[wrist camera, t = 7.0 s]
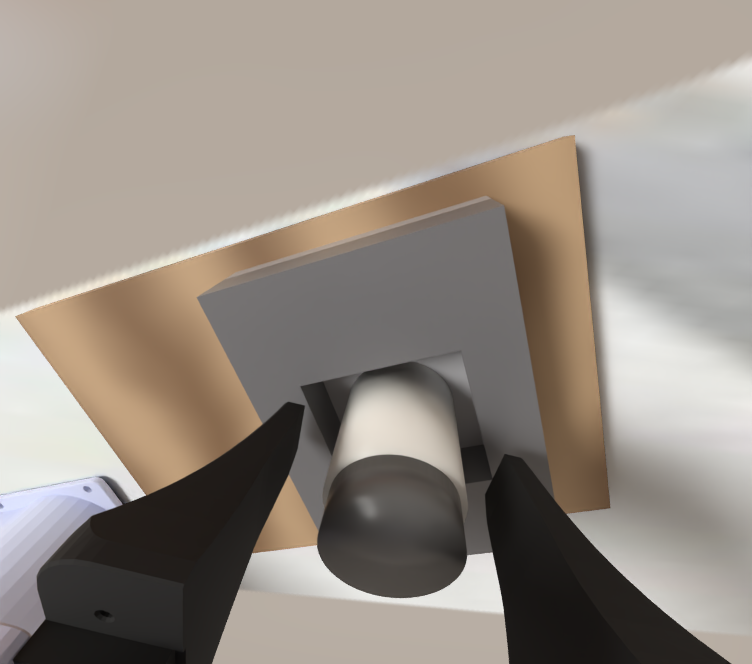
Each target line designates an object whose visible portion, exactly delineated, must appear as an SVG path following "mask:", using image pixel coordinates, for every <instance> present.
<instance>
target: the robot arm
mask: <svg viewBox="0 0 752 664" xmlns="http://www.w3.org/2000/svg"><path fill="white" fill-rule="evenodd" d="M304 409H305V405H301V404H297V403H293V402H286V403H285V404H284V405H283V406H282V407H281V408H280V409H279V410H278V411H277V412H275V413H274V414H273V415H272V416H271V417H270V418H269V419H268V420H267V421H266V422H264V423H263V424H262V425H261V426H260V427H258V428H257V429H256V430H255V431H254V432H252V433H251V434H250V435H249V436H247V437H246V438H245V439H244V440H242V441H241V442H239V443H238V444H237V445H235V446H234V447H233V448H231V449H230V450H229V451H227V452H226V453H224V454H223V455H221V456H220V457H218V458H217V459H215V460H213V461H212V462H210V463H209V464H207V465H205V466H204V467H202V468H200V469H198V470H197V471H195V472H193V473H191V474H189V475H188V476H186V477H184V478H182V479H180V480H178V481H176V482H174V483H172V484H170V485H168V486H166V487H164V488H161V489H159V490H157V491H155V492H153V493H150V494H148V495H146V496H144V497H141V498H139V499H136V500H134V501H131V502H129V503H126V504H122V503H121V501H120V500H119V499H118V497H117V496H116V495H115V493H114V492H113V491H112V490H111V488H110V487H109V486H108V484H107V483H106V482H105V481H104V480H103V479H101V478H98V477H93V478H88V479H83V480H77V481H72V482H67V483H62V484H57V485H51V486H46V487H41V488H36V489H31V490H26V491H20V492H15V493H10V494H5V495H0V664H212V662H213V659H214V656H215V653H216V650H217V647H218V645H219V642H220V639H221V636H222V633H223V631H224V627H225V625H226V622H227V619H228V617H229V614H230V611H231V608H232V606H233V603H234V600H235V597H236V595H237V592H238V589H239V587H240V584H241V581H242V579H243V576H244V573H245V571H246V568H247V565H248V563H249V560H250V557H251V555H252V552H253V550H254V547H255V545H256V542H257V540H258V538H259V536H260V533H261V531H262V529H263V527H264V525H265V523H266V521H267V519H268V517H269V515H270V513H271V511H272V509H273V507H274V504H275V502H276V500H277V498H278V496H279V494H280V492H281V490H282V488H283V486H284V484H285V482H286V480H287V477H288V475H289V472H290V470H291V467H292V464H293V461H294V458H295V456H296V453H297V450H298V444H299V439H300V433H301V427H302V421H303V415H304ZM485 505H486V518H487V526H488V532H489V537H490V542H491V547H492V551H493V556H494V561H495V566H496V570H497V575H498V580H499V585H500V590H501V595H502V601H503V607H504V616H505V625H506V633H507V643H508V654H509V664H731V663H729V662H728V661H727V660H725V659H724V658H723V657H721V656H720V655H719V654H717V653H716V652H715V651H713V650H712V649H711V648H709V647H708V646H707V645H705V644H704V643H702V642H701V641H700V640H698V639H697V638H696V637H694V636H693V635H692V634H691V633H689V632H688V631H687V630H686V629H684V628H683V627H682V626H681V625H679V624H678V623H677V622H676V621H674V620H673V619H672V618H671V617H670V616H668V615H667V614H666V613H665V612H663V611H662V610H661V609H660V608H659V607H658V606H656V605H655V604H654V603H653V602H652V601H651V600H649V599H648V598H647V597H646V596H645V595H644V594H643V593H642V592H641V591H639V590H638V589H637V588H636V587H635V586H634V585H633V584H632V583H631V582H630V581H628V580H627V579H626V578H625V577H624V576H623V575H622V574H621V573H620V572H619V571H618V570H617V569H616V568H615V567H614V566H613V565H612V564H611V563H610V562H609V561H608V560H607V559H606V558H605V557H604V556H603V555H602V554H601V553H600V552H599V551H598V550H597V549H596V548H595V547H594V546H593V544H592V543H591V542H590V541H589V540H588V539H587V538H586V537H585V536H584V534H583V533H582V532H581V531H580V530H579V529H578V528H577V526H576V525H575V524H574V523H573V522H572V521H571V519H570V518H569V517H568V516H567V515H566V513H565V512H564V511H563V510H562V509H561V507H560V506H559V505H558V504H557V502H556V501H555V500H554V499H553V497H552V496H551V495H550V493H549V492H548V491H547V490H546V488H545V487H544V486H543V484H542V483H541V482H540V480H539V479H538V478H537V477H536V475H535V474H534V473H533V471H532V470H531V469H530V467H529V466H528V465H527V464H526V462H525V461H524V460H523V459H522V458H520V457H516V456H512V455H508V454H504V456H503V458H502V460H501V462H500V464H499V467H498V469H497V471H496V473H495V475H494V477H493V479H492V481H491V483H490V485H489V487H488V489H487V491H486V493H485Z"/></svg>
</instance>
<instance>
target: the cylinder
mask: <svg viewBox="0 0 752 664" xmlns="http://www.w3.org/2000/svg"><path fill="white" fill-rule="evenodd" d="M322 499H323V505H324V513H323V517H322V520H321V524H320V528H319V532H318V537H317V548H318V552H319V555H320V557H321V559H322V561H323V563H324V564H325V566H326V567H327V568H328V569H329V570H330V571H331V572H332V573H333V574H334V575H335V576H336V577H337V578H339V579H340V580H342V581H343V582H345V583H346V584H348V585H350V586H352V587H354V588H356V589H358V590H361V591H364V592H366V593H370V594H373V595H378V596H383V597H391V598H412V597H419V596H424V595H428V594H431V593H434V592H437V591H439V590H441V589H443V588H445V587H447V586H448V585H450V584H451V583H452V582H454V581H455V580H456V579H457V578H458V577H459V575H460V574H461V572H462V571H463V569H464V567H465V564H466V560H467V547H466V539H465V531H464V522H465V519H466V516H467V511H468V499H467V493H466V486H465V479H464V472H463V465H462V458H461V451H460V444H459V437H458V430H457V423H456V416H455V409H454V402H453V397H452V393H451V391H450V389H449V387H448V385H447V383H446V382H445V381H444V379H443V378H442V377H441V376H440V375H439V374H437V373H436V372H435V371H433V370H432V369H430V368H428V367H426V366H424V365H422V364H419V363H416V362H406V363H402V364H397V365H393V366H388V367H384V368H379V369H375V370H370V371H366V372H363V373H362V374H361V375H360V376H359V377H358V378H357V379H356V381H355V382H354V384H353V386H352V388H351V391H350V394H349V398H348V402H347V405H346V409H345V412H344V416H343V419H342V423H341V426H340V430H339V434H338V437H337V441H336V444H335V448H334V451H333V455H332V458H331V462H330V465H329V469H328V473H327V476H326V480H325V483H324V487H323V493H322Z"/></svg>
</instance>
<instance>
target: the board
mask: <svg viewBox="0 0 752 664" xmlns="http://www.w3.org/2000/svg"><path fill="white" fill-rule="evenodd" d="M483 196H488V197H489V198H491V199H493V200H495V201H497V202H499V203H500V204H502V205H504V208H505V213H506V219H507V225H508V231H509V237H510V243H511V248H512V254H513V260H514V266H515V272H516V277H517V283H518V289H519V295H520V301H521V306H522V312H523V318H524V324H525V330H526V336H527V341H528V347H529V353H530V359H531V365H532V370H533V376H534V382H535V388H536V394H537V400H538V405H539V411H540V417H541V423H542V429H543V434H544V440H545V446H546V452H547V458H548V463H549V469H550V475H551V481H552V487H553V493H554V498H555V501H556V502H557V504H558V505H559V506H560V507H561V509H562V510H563V511H564V512H565V513H566V514H568V513H575V512H583V511H591V510H599V509H607V508H610V499H609V489H608V478H607V468H606V458H605V447H604V437H603V426H602V416H601V406H600V395H599V385H598V374H597V364H596V354H595V343H594V333H593V322H592V312H591V302H590V291H589V281H588V270H587V260H586V250H585V239H584V229H583V218H582V208H581V198H580V187H579V177H578V166H577V156H576V146H575V135H572V136H566V137H561V138H558V139H555V140H552V141H549V142H546V143H543V144H540V145H537V146H534V147H531V148H528V149H524V150H521V151H518V152H515V153H512V154H509V155H506V156H503V157H500V158H497V159H494V160H491V161H488V162H484V163H481V164H478V165H475V166H472V167H469V168H466V169H463V170H460V171H457V172H454V173H451V174H448V175H444V176H441V177H438V178H435V179H432V180H429V181H426V182H423V183H420V184H417V185H414V186H411V187H408V188H404V189H401V190H398V191H395V192H392V193H389V194H386V195H383V196H380V197H377V198H374V199H371V200H368V201H364V202H361V203H358V204H355V205H352V206H349V207H346V208H343V209H340V210H337V211H334V212H331V213H328V214H324V215H321V216H318V217H315V218H312V219H309V220H306V221H303V222H300V223H297V224H294V225H291V226H288V227H284V228H281V229H278V230H275V231H272V232H269V233H266V234H263V235H260V236H257V237H254V238H251V239H248V240H244V241H241V242H238V243H235V244H232V245H229V246H226V247H223V248H220V249H217V250H214V251H211V252H208V253H204V254H201V255H198V256H195V257H192V258H189V259H186V260H183V261H180V262H177V263H174V264H171V265H168V266H164V267H161V268H158V269H155V270H152V271H149V272H146V273H143V274H140V275H137V276H134V277H131V278H128V279H124V280H121V281H118V282H115V283H112V284H109V285H106V286H103V287H100V288H97V289H94V290H91V291H88V292H85V293H81V294H78V295H75V296H72V297H69V298H66V299H63V300H60V301H57V302H54V303H51V304H48V305H45V306H41V307H38V308H35V309H33V310H30V311H28V312H25V313H23V314H20V315H18V316H15V317H16V318H17V320H18V321H19V322H20V324H21V325H22V326H23V328H24V329H25V331H26V332H27V333H28V335H29V336H30V337H31V339H32V340H33V341H34V343H35V344H36V346H37V347H38V348H39V350H40V351H41V352H42V354H43V355H44V356H45V358H46V359H47V361H48V362H49V363H50V365H51V366H52V367H53V369H54V370H55V371H56V373H57V374H58V376H59V377H60V378H61V380H62V381H63V382H64V384H65V385H66V386H67V388H68V389H69V391H70V392H71V393H72V395H73V396H74V397H75V399H76V400H77V401H78V403H79V404H80V406H81V407H82V408H83V410H84V411H85V412H86V414H87V415H88V417H89V418H90V419H91V421H92V422H93V423H94V425H95V426H96V427H97V429H98V430H99V432H100V433H101V434H102V436H103V437H104V438H105V440H106V441H107V442H108V444H109V445H110V447H111V448H112V449H113V451H114V452H115V453H116V455H117V456H118V457H119V459H120V460H121V462H122V463H123V464H124V466H125V467H126V468H127V470H128V471H129V472H130V474H131V475H132V477H133V478H134V479H135V481H136V482H137V483H138V485H139V486H140V487H141V489H142V490H143V492H144V493H145V494H146V495H148V494H150V493H153V492H155V491H157V490H159V489H161V488H164V487H166V486H168V485H170V484H172V483H174V482H176V481H178V480H180V479H182V478H184V477H186V476H188V475H189V474H191V473H193V472H195V471H197V470H198V469H200V468H202V467H204V466H205V465H207V464H209V463H210V462H212V461H213V460H215V459H217V458H218V457H220V456H221V455H223V454H224V453H226V452H227V451H229V450H230V449H231V448H233V447H234V446H235V445H237V444H238V443H239V442H241V441H242V440H244V439H245V438H246V437H247V436H249V435H250V434H251V433H252V432H254V431H255V430H256V429H257V428H258V427H260V426H261V425H262V422H261V420H260V418H259V416H258V414H257V412H256V411H255V409H254V407H253V405H252V403H251V401H250V399H249V397H248V395H247V393H246V391H245V389H244V388H243V386H242V384H241V382H240V380H239V378H238V376H237V374H236V372H235V370H234V368H233V366H232V365H231V363H230V361H229V359H228V357H227V355H226V353H225V351H224V349H223V347H222V345H221V343H220V342H219V340H218V338H217V336H216V334H215V332H214V330H213V328H212V326H211V324H210V322H209V320H208V319H207V317H206V315H205V313H204V311H203V309H202V307H201V305H200V303H199V301H198V299H197V297H198V296H199V295H201V294H202V293H204V292H205V291H207V290H209V289H210V288H212V287H213V286H215V285H217V284H218V283H220V282H221V281H223V280H224V279H226V278H228V277H229V276H231V275H232V274H234V273H235V272H239V271H242V270H245V269H248V268H252V267H255V266H258V265H261V264H265V263H268V262H271V261H275V260H278V259H281V258H284V257H288V256H291V255H294V254H297V253H301V252H304V251H307V250H310V249H314V248H317V247H320V246H323V245H327V244H330V243H333V242H337V241H340V240H343V239H346V238H350V237H353V236H356V235H359V234H363V233H366V232H369V231H372V230H376V229H379V228H382V227H385V226H389V225H392V224H395V223H399V222H402V221H405V220H408V219H412V218H415V217H418V216H421V215H425V214H428V213H431V212H434V211H438V210H441V209H444V208H447V207H451V206H454V205H457V204H461V203H464V202H467V201H470V200H474V199H477V198H480V197H483ZM318 532H319V531H318V529H317V527H316V526H315V524H314V522H313V520H312V518H311V516H310V514H309V512H308V510H307V508H306V506H305V504H304V503H303V501H302V499H301V497H300V495H299V493H298V491H297V489H296V487H295V485H294V483H293V481H292V480H291V478H290V476H289V475H288V477H287V480H286V482H285V484H284V486H283V488H282V490H281V492H280V494H279V496H278V498H277V500H276V502H275V504H274V507H273V509H272V511H271V513H270V515H269V517H268V519H267V521H266V523H265V525H264V527H263V529H262V531H261V533H260V536H259V538H258V540H257V542H256V545H255V547H254V550H253V552H252V553H258V552H266V551H274V550H282V549H290V548H298V547H306V546H314V545H317V537H318Z"/></svg>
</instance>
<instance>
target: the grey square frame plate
mask: <svg viewBox="0 0 752 664" xmlns="http://www.w3.org/2000/svg"><path fill="white" fill-rule="evenodd" d="M197 299H198V301H199V303H200V305H201V307H202V309H203V311H204V313H205V315H206V317H207V319H208V320H209V322H210V324H211V326H212V328H213V330H214V332H215V334H216V336H217V338H218V340H219V342H220V343H221V345H222V347H223V349H224V351H225V353H226V355H227V357H228V359H229V361H230V363H231V365H232V366H233V368H234V370H235V372H236V374H237V376H238V378H239V380H240V382H241V384H242V386H243V388H244V389H245V391H246V393H247V395H248V397H249V399H250V401H251V403H252V405H253V407H254V409H255V411H256V412H257V414H258V416H259V418H260V420H261V422H262V424H263V423H264V422H266V421H267V420H268V419H269V418H270V417H271V416H272V415H273V414H274V413H275V412H277V411H278V410H279V409H280V408H281V407H282V406H283V405H284V404H285V403H286V402H293V403H297V404H301V405H305V409H304V415H303V421H302V427H301V433H300V439H299V444H298V450H297V453H296V456H295V458H294V461H293V464H292V467H291V470H290V472H289V476H290V478H291V480H292V481H293V483H294V485H295V487H296V489H297V491H298V493H299V495H300V497H301V499H302V501H303V503H304V504H305V506H306V508H307V510H308V512H309V514H310V516H311V518H312V520H313V522H314V524H315V526H316V527H317V529H318V531H319V528H320V524H321V520H322V517H323V513H324V505H323V499H322V493H323V487H324V483H325V480H326V476H327V473H328V469H329V465H330V462H331V458H332V455H333V451H334V448H335V444H336V441H337V437H338V434H339V430H340V426H341V423H342V419H343V416H344V412H345V409H346V405H347V402H348V398H349V394H350V391H351V388H352V386H353V384H354V382H355V381H356V379H357V378H358V377H359V376H360V375H361V374H362V373H363V372H366V371H370V370H375V369H379V368H384V367H388V366H393V365H397V364H402V363H406V362H416V363H419V364H422V365H424V366H426V367H428V368H430V369H432V370H433V371H435V372H436V373H437V374H439V375H440V376H441V377H442V378H443V379H444V381H445V382H446V383H447V385H448V387H449V389H450V391H451V393H452V397H453V402H454V409H455V416H456V423H457V430H458V437H459V444H460V451H461V458H462V465H463V472H464V479H465V486H466V493H467V499H468V511H467V516H466V519H465V522H464V531H465V539H466V547H467V555H473V554H482V553H491V552H493V551H492V547H491V542H490V537H489V532H488V526H487V518H486V505H485V493H486V491H487V489H488V487H489V485H490V483H491V481H492V479H493V477H494V475H495V473H496V471H497V469H498V467H499V464H500V462H501V460H502V458H503V456H504V454H508V455H512V456H516V457H520V458H522V459H523V460H524V461H525V462H526V464H527V465H528V466H529V467H530V469H531V470H532V471H533V473H534V474H535V475H536V477H537V478H538V479H539V480H540V482H541V483H542V484H543V486H544V487H545V488H546V490H547V491H548V492H549V493H550V495H551V496H552V497H553V499H554V500H555V498H554V493H553V487H552V481H551V475H550V469H549V463H548V458H547V452H546V446H545V440H544V434H543V429H542V423H541V417H540V411H539V405H538V400H537V394H536V388H535V382H534V376H533V370H532V365H531V359H530V353H529V347H528V341H527V336H526V330H525V324H524V318H523V312H522V306H521V301H520V295H519V289H518V283H517V277H516V272H515V266H514V260H513V254H512V248H511V243H510V237H509V231H508V225H507V219H506V213H505V208H504V205H502V204H500V203H499V202H497V201H495V200H493V199H491V198H489V197H488V196H483V197H480V198H477V199H474V200H470V201H467V202H464V203H461V204H457V205H454V206H451V207H447V208H444V209H441V210H438V211H434V212H431V213H428V214H425V215H421V216H418V217H415V218H412V219H408V220H405V221H402V222H399V223H395V224H392V225H389V226H385V227H382V228H379V229H376V230H372V231H369V232H366V233H363V234H359V235H356V236H353V237H350V238H346V239H343V240H340V241H337V242H333V243H330V244H327V245H323V246H320V247H317V248H314V249H310V250H307V251H304V252H301V253H297V254H294V255H291V256H288V257H284V258H281V259H278V260H275V261H271V262H268V263H265V264H261V265H258V266H255V267H252V268H248V269H245V270H242V271H239V272H235V273H234V274H232V275H231V276H229V277H228V278H226V279H224V280H223V281H221V282H220V283H218V284H217V285H215V286H213V287H212V288H210V289H209V290H207V291H205V292H204V293H202V294H201V295H199V296H198V297H197Z"/></svg>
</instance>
